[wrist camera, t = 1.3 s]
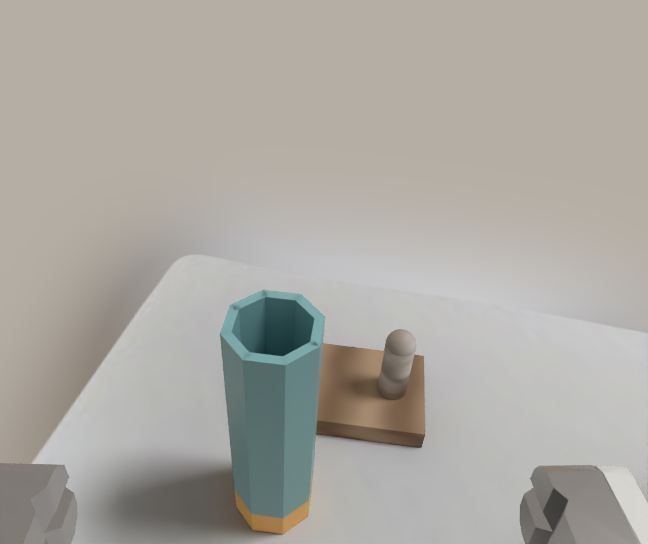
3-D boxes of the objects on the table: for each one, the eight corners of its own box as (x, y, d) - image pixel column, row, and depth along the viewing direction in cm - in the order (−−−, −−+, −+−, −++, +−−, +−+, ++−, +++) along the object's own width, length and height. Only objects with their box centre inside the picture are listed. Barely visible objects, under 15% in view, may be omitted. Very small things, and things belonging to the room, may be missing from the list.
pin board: (420, 369, 58) (437, 301, 52) (421, 447, 51) (440, 380, 45) (272, 350, 59) (272, 282, 53) (254, 425, 52) (251, 356, 46)
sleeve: (314, 469, 49) (328, 297, 36) (304, 537, 45) (316, 369, 32) (247, 460, 50) (236, 286, 37) (230, 526, 45) (212, 355, 32)
